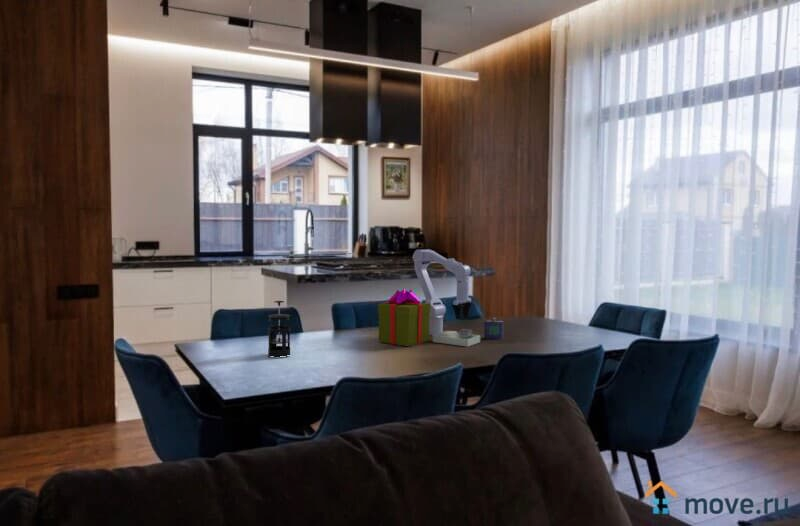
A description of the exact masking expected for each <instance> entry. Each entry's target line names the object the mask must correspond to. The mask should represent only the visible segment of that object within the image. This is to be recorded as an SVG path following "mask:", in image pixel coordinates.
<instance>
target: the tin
mask: <svg viewBox="0 0 800 526" xmlns="http://www.w3.org/2000/svg"><path fill="white" fill-rule="evenodd" d="M458 333H459V339H470V338H472V335H473V329H469V328H462V329H459V330H458Z"/></svg>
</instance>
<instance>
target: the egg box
mask: <svg viewBox="0 0 800 526" xmlns="http://www.w3.org/2000/svg"><path fill="white" fill-rule="evenodd" d="M457 333H458V331H455V330H444V331H443V332H441V333H439V336H444V337H452V338H457Z"/></svg>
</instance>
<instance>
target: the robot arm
mask: <svg viewBox="0 0 800 526" xmlns="http://www.w3.org/2000/svg"><path fill="white" fill-rule="evenodd" d="M412 261H413V262H414V264H413V265H414V271H415V274H416V277H417V279H418V283H419V285H420V287H421V290H422V292H423V295H424V298H425V300H426V301H425V303H430V314H429V336H431V337H433V335H436V334H439V333H441V332H444V330H443V329H444V323H443V322H444V317H445V316H444V315H445V314H446V312H447V307H446V306H445V304H443V302H442V300H441V299H440V298H439V297H437V295H436V292H435V289H434V286H433V284H432V280H431V279H430V275H429V273H428V271H427V268H428V267H429V265H430V264H431V263H432V261H434V262H436V263H438V264H441V266H443V267H444V269H445V270H447V271H449V272H451V273H453V274H454V275H455V279H456V299H455V300H453V302H452V303H451V307H452V309H453V312H454V315H455V319H456V320H461V319H462V315H463V318H469V315H470V313H471V312H470V310H471V308H472V306H473V304H474V303H473V302H472V298H471V297H469V292H470V291H469V284H470V279H469V278H470V277H469V276H471V274H472V269H471V267H470V266H469V265H468V264H463V263H462V262H458V261H456V259H455V258H453V257H452V258H446V257H445V256H442V255H441V254H439V253H438V252H436V251H435V250H432V249H430V248H427V249H416V250H415V251H414V253H413V254H412Z"/></svg>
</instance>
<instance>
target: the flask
mask: <svg viewBox="0 0 800 526" xmlns="http://www.w3.org/2000/svg"><path fill="white" fill-rule="evenodd" d="M496 319H497V318H496V317H493V318H492V319H488V320H485V321H484V325H483V326H484V331H483V333H484V334H483V337H484V339H492V340H495V339H497V340H499V339H501V340H503V339H504V321H503V320H496Z"/></svg>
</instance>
